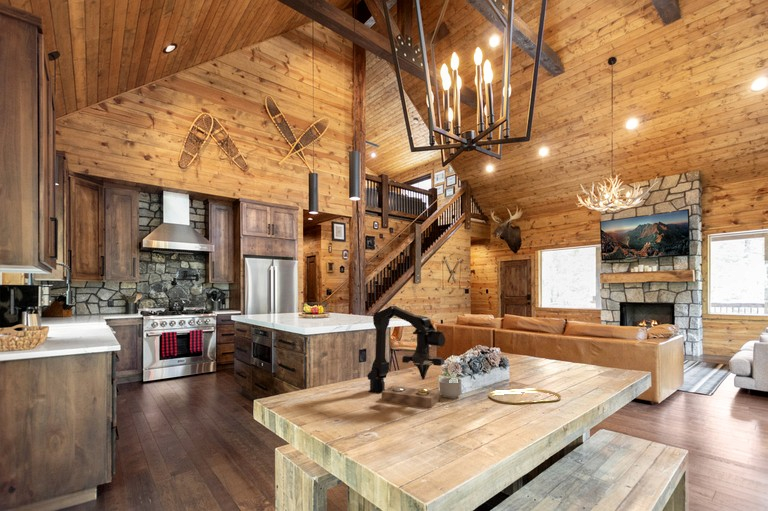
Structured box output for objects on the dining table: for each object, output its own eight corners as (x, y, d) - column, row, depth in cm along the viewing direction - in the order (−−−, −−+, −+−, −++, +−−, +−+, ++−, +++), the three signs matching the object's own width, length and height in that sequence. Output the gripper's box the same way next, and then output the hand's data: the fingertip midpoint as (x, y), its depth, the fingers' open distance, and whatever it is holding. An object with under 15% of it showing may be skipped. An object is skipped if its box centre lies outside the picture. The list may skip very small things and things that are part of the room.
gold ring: (481, 395, 189) (481, 391, 189) (544, 391, 196) (544, 388, 196) (501, 406, 170) (501, 403, 171) (570, 402, 178) (569, 398, 178)
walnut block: (381, 400, 177) (381, 391, 178) (392, 394, 188) (392, 385, 188) (431, 407, 167) (431, 398, 167) (439, 400, 178) (439, 391, 178)
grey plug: (392, 396, 179) (392, 389, 179) (396, 394, 183) (396, 386, 184) (401, 398, 177) (401, 390, 177) (405, 395, 181) (405, 388, 182)
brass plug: (416, 397, 174) (416, 389, 174) (419, 394, 178) (419, 387, 179) (426, 398, 172) (426, 391, 172) (429, 396, 176) (429, 388, 177)
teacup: (463, 400, 179) (463, 382, 179) (440, 399, 179) (440, 382, 180) (458, 391, 193) (458, 375, 193) (436, 391, 193) (436, 375, 194)
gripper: (397, 345, 174) (397, 380, 172) (437, 348, 166) (437, 385, 164) (406, 342, 184) (406, 375, 182) (444, 345, 176) (444, 379, 174)
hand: (423, 379), depth 176 cm, fingers closed
